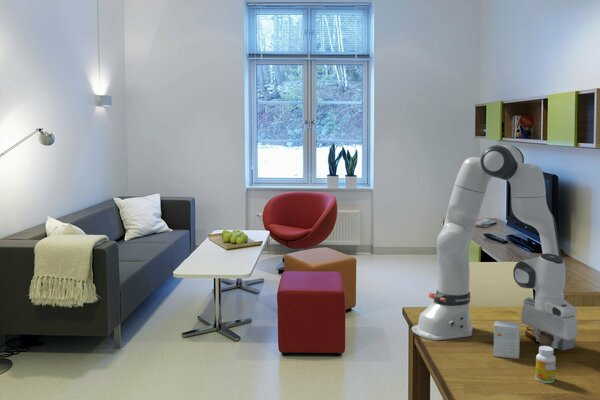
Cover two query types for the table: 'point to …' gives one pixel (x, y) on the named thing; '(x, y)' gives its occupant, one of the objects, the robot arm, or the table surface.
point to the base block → (566, 344)
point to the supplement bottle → (545, 365)
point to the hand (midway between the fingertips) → (546, 344)
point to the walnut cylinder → (545, 339)
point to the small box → (506, 339)
